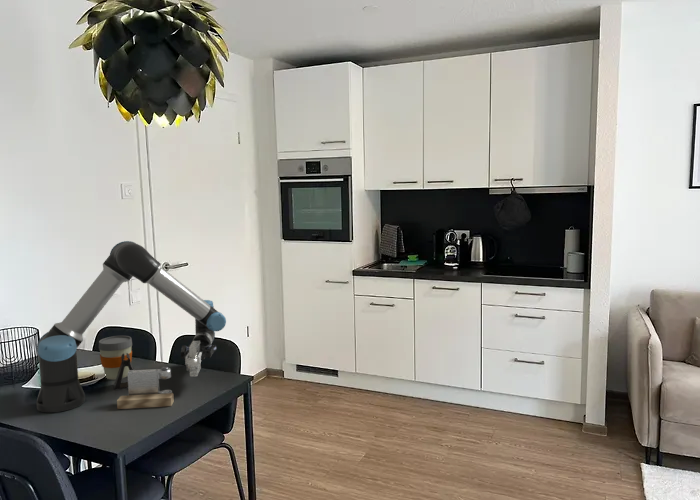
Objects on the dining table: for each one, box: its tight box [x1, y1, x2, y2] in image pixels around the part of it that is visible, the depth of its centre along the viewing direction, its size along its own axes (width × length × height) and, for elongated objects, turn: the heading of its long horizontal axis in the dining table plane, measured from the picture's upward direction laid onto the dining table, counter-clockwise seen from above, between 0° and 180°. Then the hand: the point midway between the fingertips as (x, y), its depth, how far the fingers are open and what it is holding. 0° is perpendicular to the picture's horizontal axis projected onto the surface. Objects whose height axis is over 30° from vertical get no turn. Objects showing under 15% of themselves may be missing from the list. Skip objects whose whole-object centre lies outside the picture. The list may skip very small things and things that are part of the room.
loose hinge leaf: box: [185, 340, 202, 377], centre depth 200 cm, size 4×14×11 cm, turn 7°
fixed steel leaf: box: [127, 366, 173, 396], centre depth 192 cm, size 14×4×12 cm, turn 97°
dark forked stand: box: [114, 353, 135, 390], centre depth 208 cm, size 9×6×12 cm, turn 114°
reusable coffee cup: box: [98, 335, 133, 380], centre depth 218 cm, size 12×13×15 cm
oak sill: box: [116, 392, 175, 410], centre depth 189 cm, size 18×4×3 cm, turn 97°
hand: (192, 361), depth 197 cm, fingers closed on loose hinge leaf, 4 cm apart
